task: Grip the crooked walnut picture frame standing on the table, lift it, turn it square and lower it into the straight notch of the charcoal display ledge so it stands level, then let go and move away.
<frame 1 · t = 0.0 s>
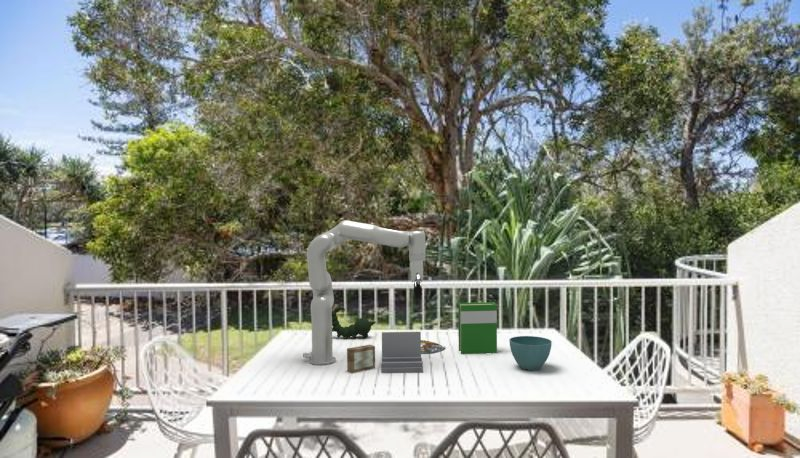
hand: (417, 294, 258), 31 cm above the table, tool pointing down, fingers open, 9 cm apart
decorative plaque: (416, 348, 284), on the table
display ledge: (401, 368, 244), on the table
teal bowl: (530, 368, 244), on the table
picture frame: (361, 369, 244), on the table
hardback book: (477, 352, 273), on the table
toy figurine: (353, 338, 306), on the table
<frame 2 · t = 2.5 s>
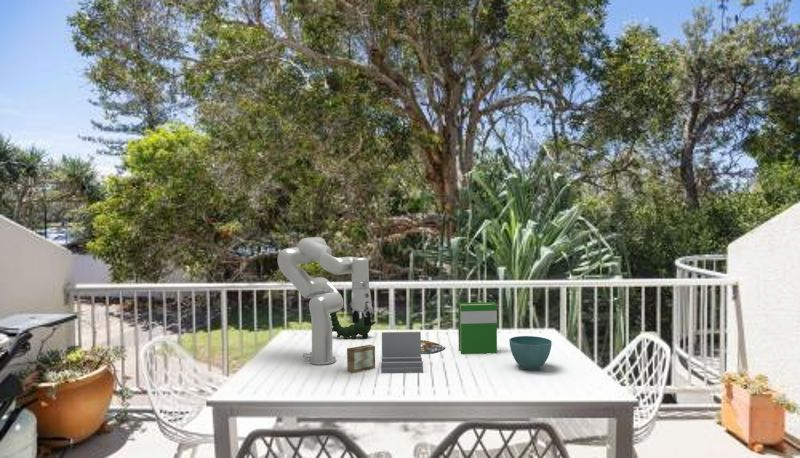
hand: (361, 324, 243), 20 cm above the table, tool pointing down, fingers open, 9 cm apart
nothing on the table moved.
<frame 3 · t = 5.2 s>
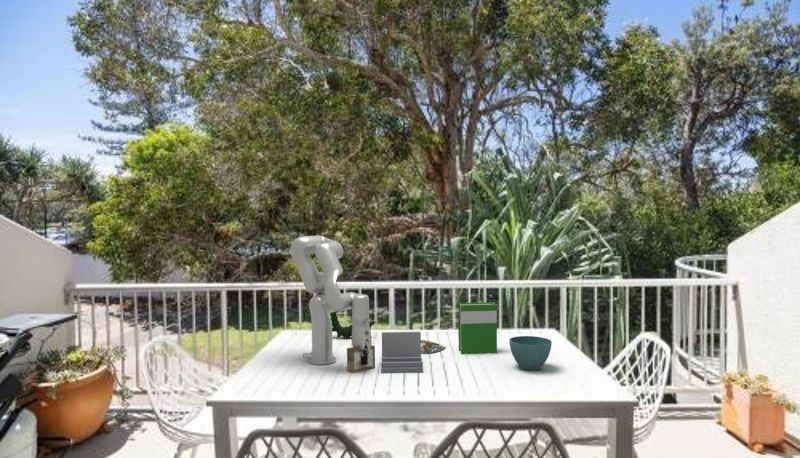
hand: (361, 363, 244), 3 cm above the table, tool pointing down, fingers closed on picture frame, 4 cm apart
picture frame: (361, 369, 244), on the table, touching gripper
everything else where it was.
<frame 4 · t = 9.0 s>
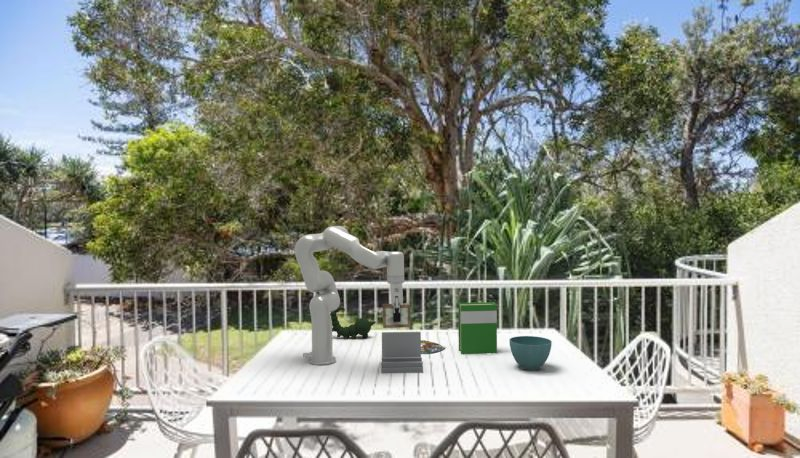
hand: (396, 320, 244), 22 cm above the table, tool pointing down, fingers closed on picture frame, 4 cm apart
picture frame: (396, 326, 244), point 19 cm above the table, touching gripper
everything else where it was.
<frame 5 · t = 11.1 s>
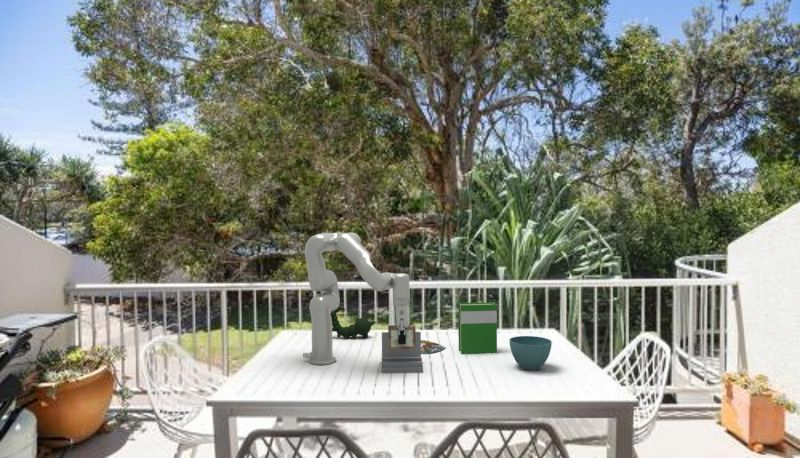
hand: (402, 342, 244), 12 cm above the table, tool pointing down, fingers closed on picture frame, 4 cm apart
picture frame: (402, 348, 244), point 9 cm above the table, touching gripper
everything else where it was.
when the fingers open (6 cm above the table, at t = 13.1 s): picture frame stays where it is, resting on display ledge.
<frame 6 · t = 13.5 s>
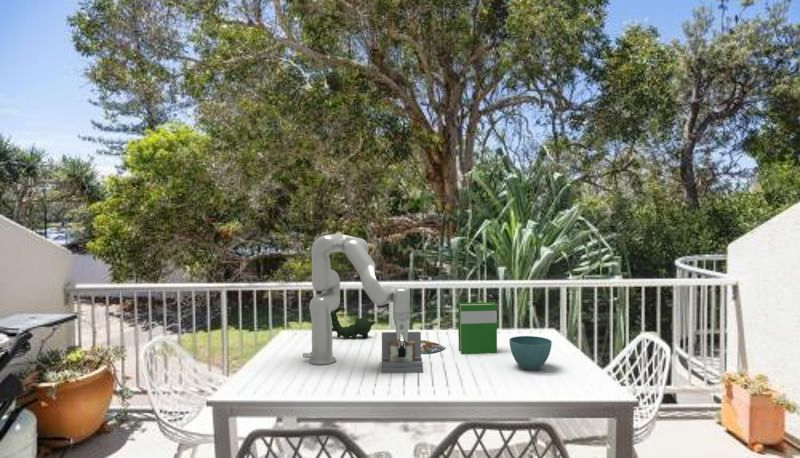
hand: (401, 354, 244), 7 cm above the table, tool pointing down, fingers open, 9 cm apart
picture frame: (401, 364, 245), point 2 cm above the table, touching display ledge
everything else where it was.
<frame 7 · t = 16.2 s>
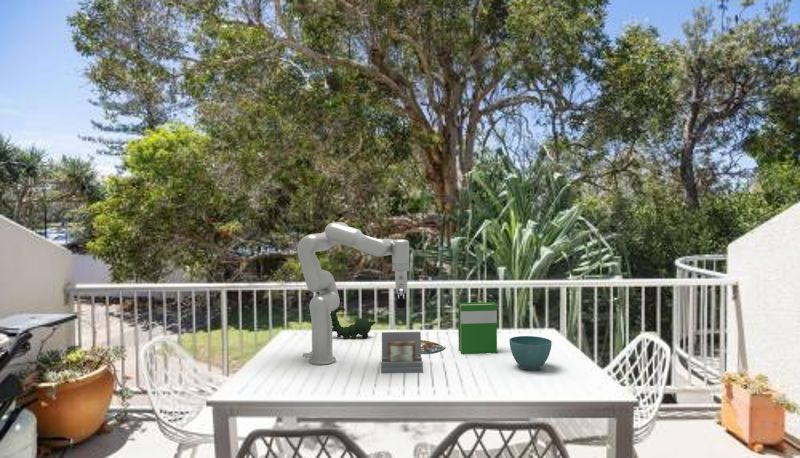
hand: (401, 306, 244), 28 cm above the table, tool pointing down, fingers open, 9 cm apart
nothing on the table moved.
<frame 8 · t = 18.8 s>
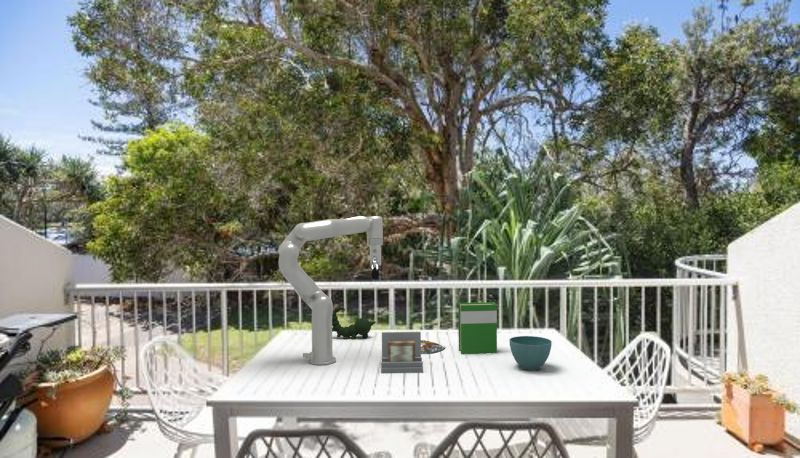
hand: (375, 277, 265), 38 cm above the table, tool pointing down, fingers open, 9 cm apart
nothing on the table moved.
at the end: picture frame inside the target area on the display ledge (0.2 cm from its centre), point 2.0 cm above the display ledge's base; picture frame tilted 0°; the gripper is holding nothing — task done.
